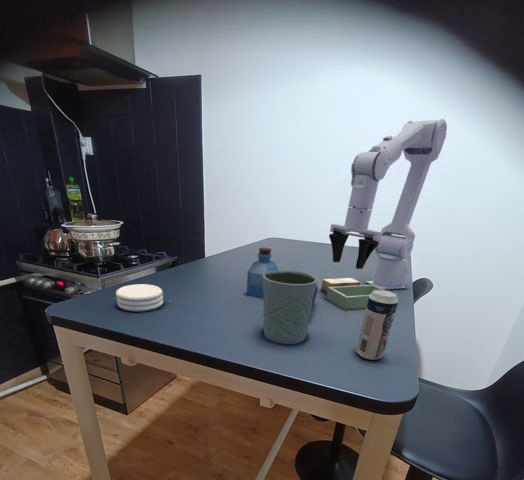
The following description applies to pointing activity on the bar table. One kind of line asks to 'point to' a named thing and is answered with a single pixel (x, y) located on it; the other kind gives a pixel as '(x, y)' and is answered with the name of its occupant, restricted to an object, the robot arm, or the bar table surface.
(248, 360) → the bar table surface
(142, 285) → the coaster
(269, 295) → the green embossed cup
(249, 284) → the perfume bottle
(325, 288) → the eraser
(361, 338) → the beer can
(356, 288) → the eraser holder
